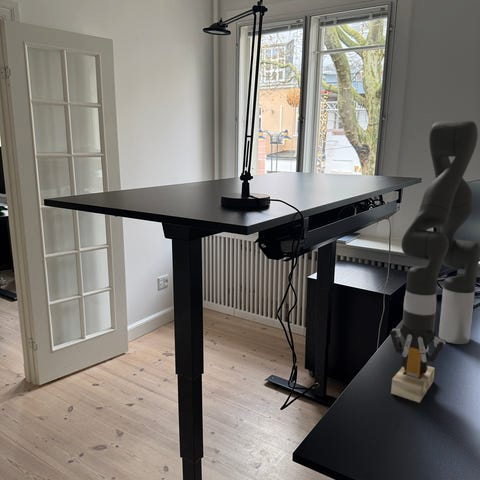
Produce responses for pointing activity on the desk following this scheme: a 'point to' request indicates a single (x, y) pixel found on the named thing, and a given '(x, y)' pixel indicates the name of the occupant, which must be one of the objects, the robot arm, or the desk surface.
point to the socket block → (412, 384)
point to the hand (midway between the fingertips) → (414, 371)
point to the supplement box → (414, 362)
